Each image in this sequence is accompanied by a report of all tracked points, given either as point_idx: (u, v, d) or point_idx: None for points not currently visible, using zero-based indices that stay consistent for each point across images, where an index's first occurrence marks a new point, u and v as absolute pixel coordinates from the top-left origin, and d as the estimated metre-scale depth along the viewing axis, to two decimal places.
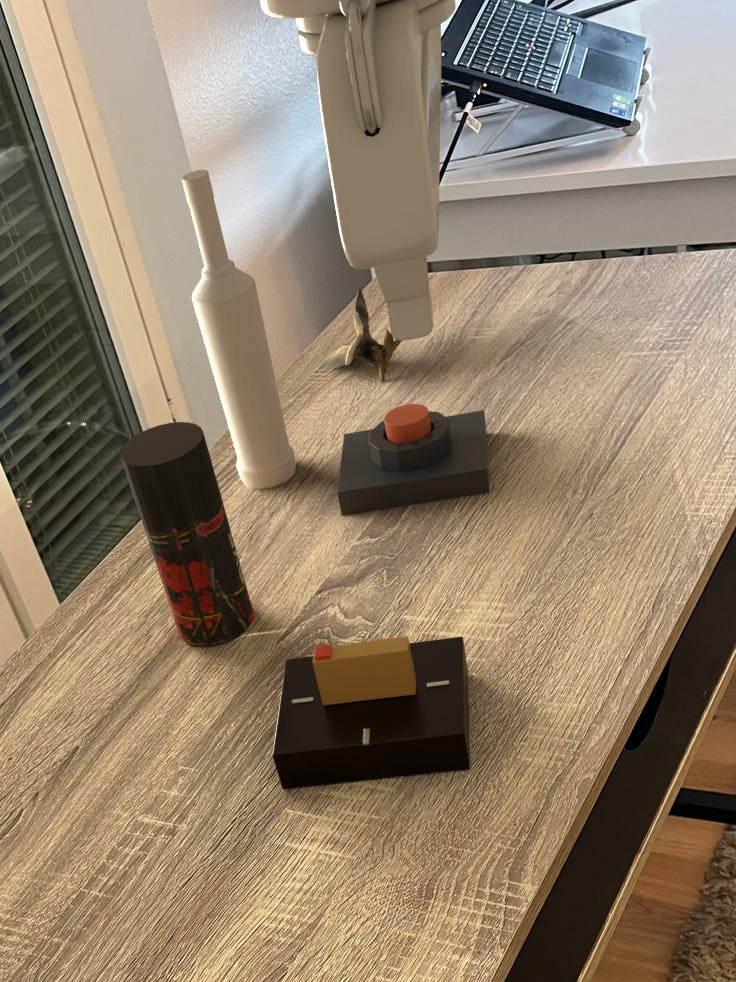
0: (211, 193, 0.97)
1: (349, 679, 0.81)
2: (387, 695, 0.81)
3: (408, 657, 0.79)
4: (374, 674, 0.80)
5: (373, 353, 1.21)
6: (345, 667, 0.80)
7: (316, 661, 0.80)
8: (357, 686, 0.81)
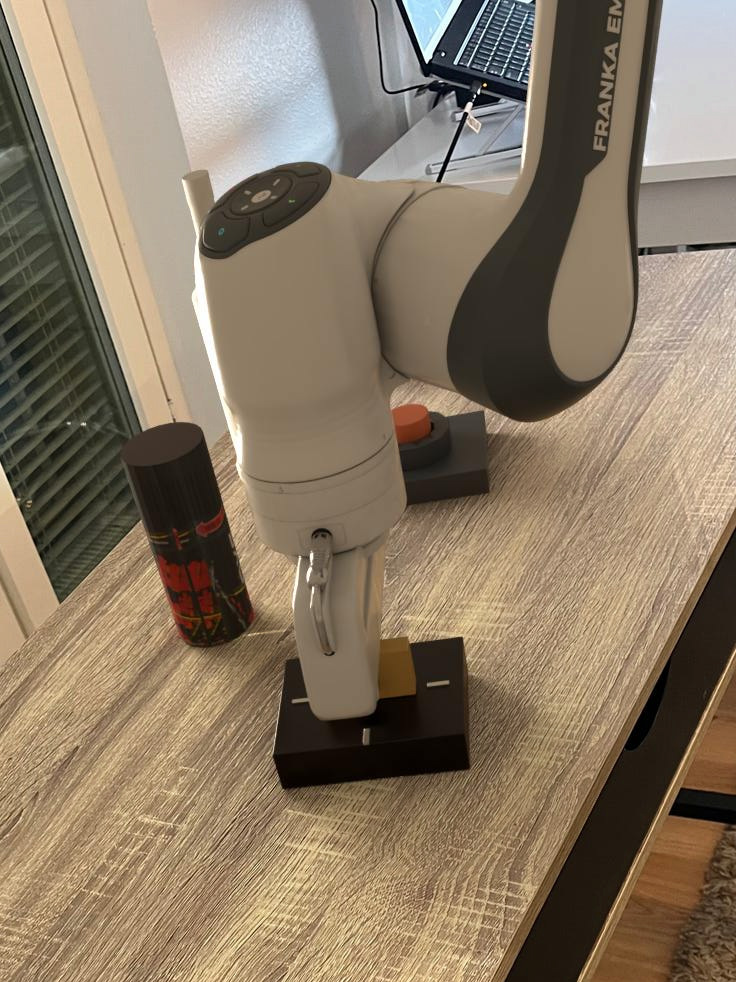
0: (211, 193, 0.97)
1: None
2: (387, 695, 0.81)
3: (408, 657, 0.79)
4: None
5: None
6: None
7: None
8: None
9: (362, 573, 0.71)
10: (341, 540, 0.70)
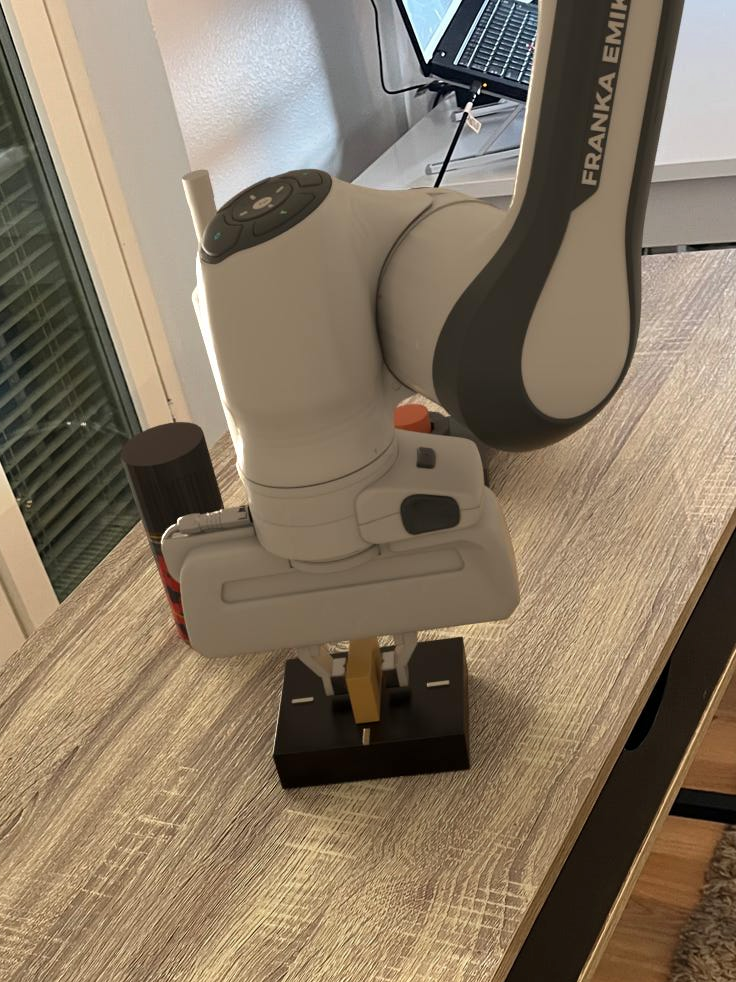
0: (211, 193, 0.97)
1: None
2: None
3: (348, 687, 0.79)
4: None
5: None
6: None
7: None
8: None
9: (256, 566, 0.75)
10: (255, 528, 0.74)
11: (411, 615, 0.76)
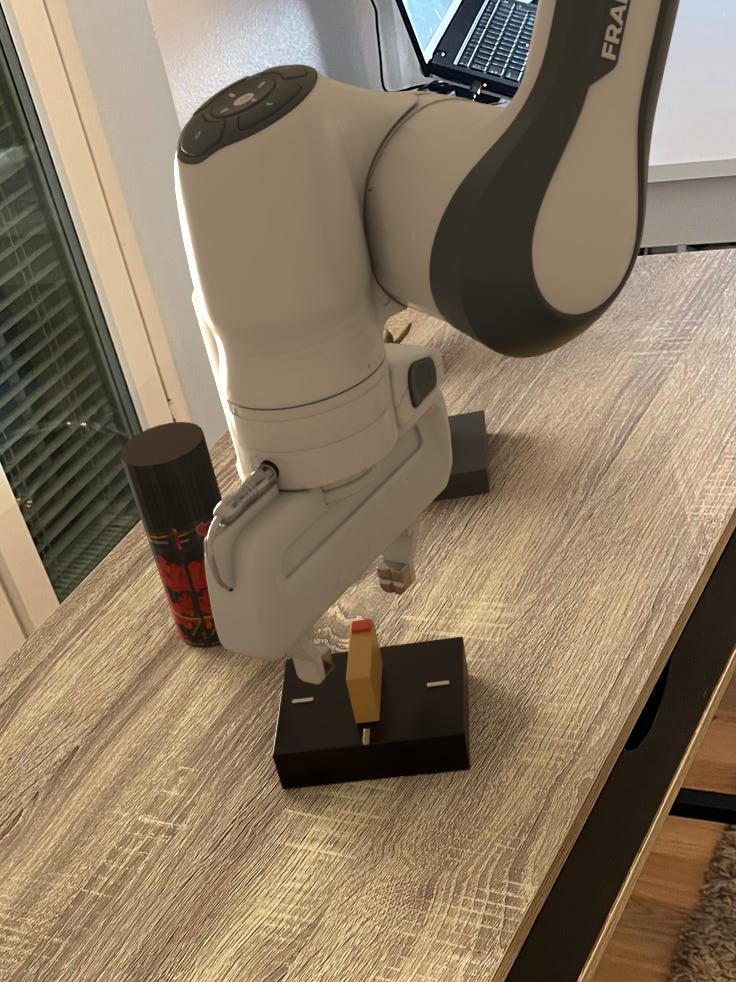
0: None
1: None
2: None
3: (348, 687, 0.79)
4: None
5: None
6: None
7: (351, 625, 0.82)
8: None
9: (304, 518, 0.68)
10: (287, 478, 0.67)
11: (400, 514, 0.75)
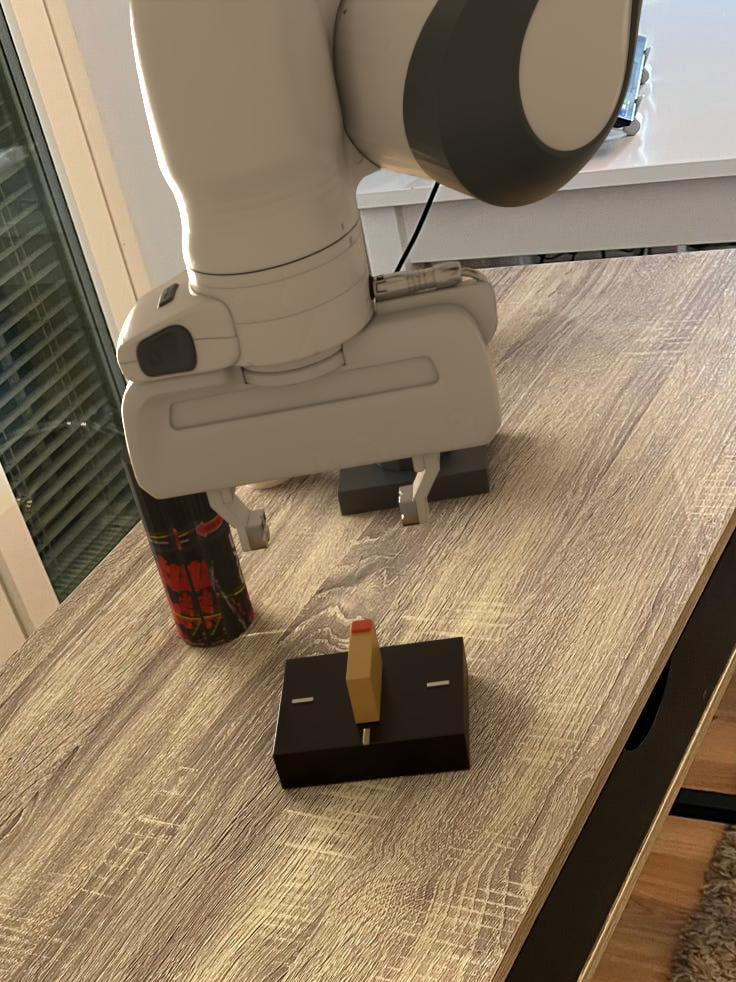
0: None
1: None
2: None
3: (348, 687, 0.79)
4: None
5: None
6: None
7: (351, 625, 0.82)
8: None
9: None
10: None
11: None
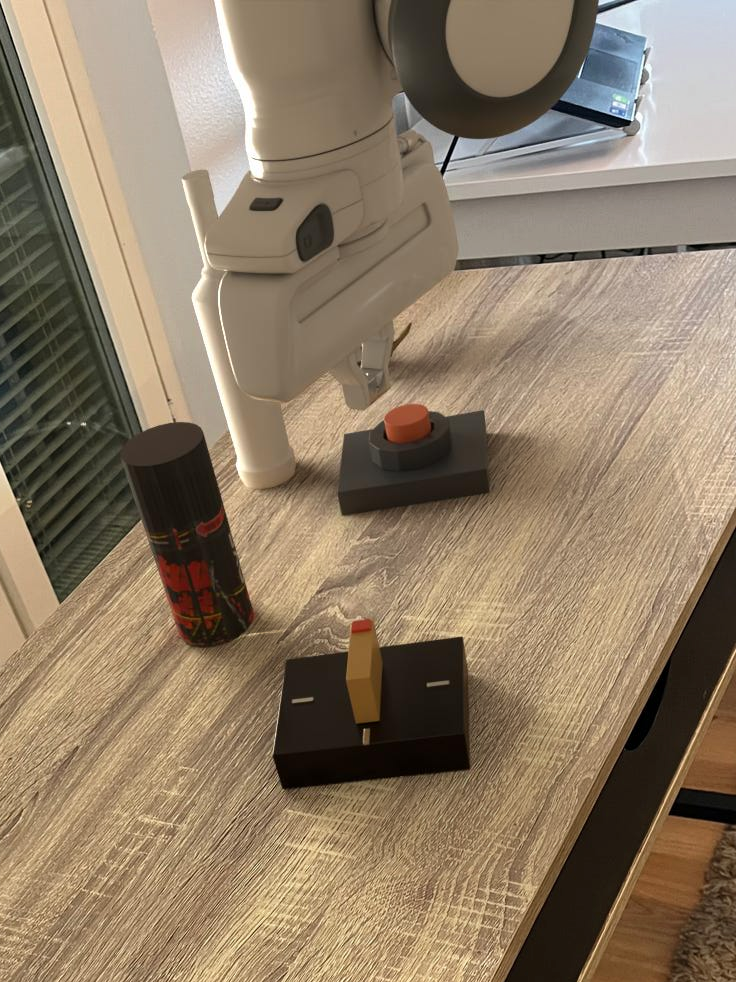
0: (211, 193, 0.97)
1: None
2: None
3: (348, 687, 0.79)
4: None
5: None
6: None
7: (351, 625, 0.82)
8: None
9: None
10: None
11: None
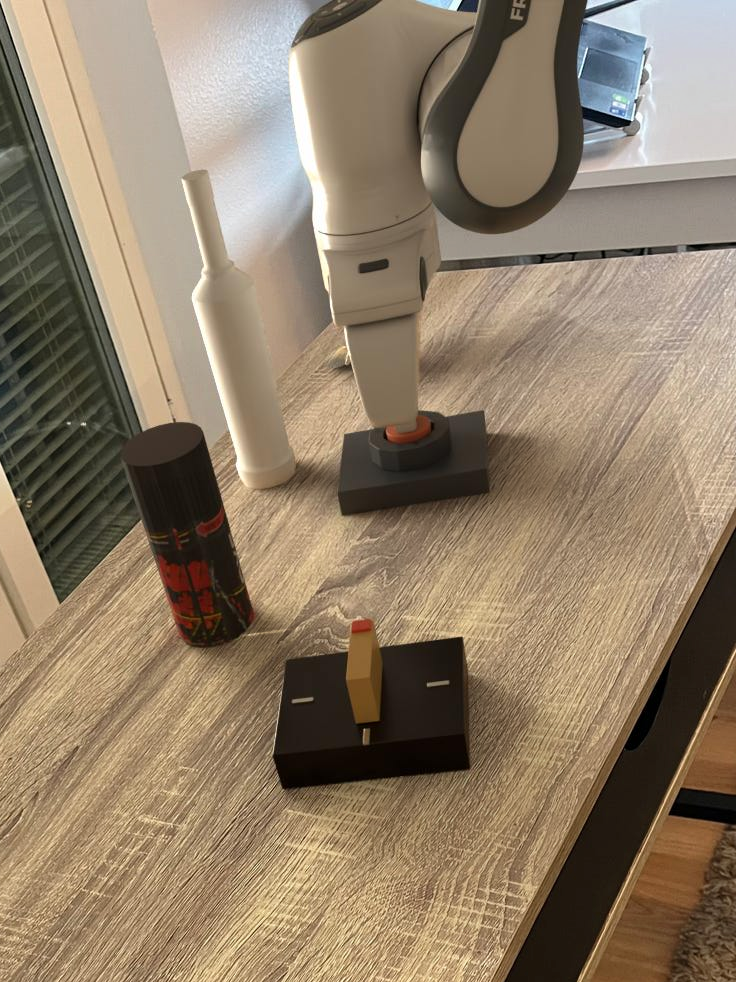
0: (211, 193, 0.97)
1: None
2: None
3: (348, 687, 0.79)
4: None
5: None
6: None
7: (351, 625, 0.82)
8: None
9: None
10: None
11: None
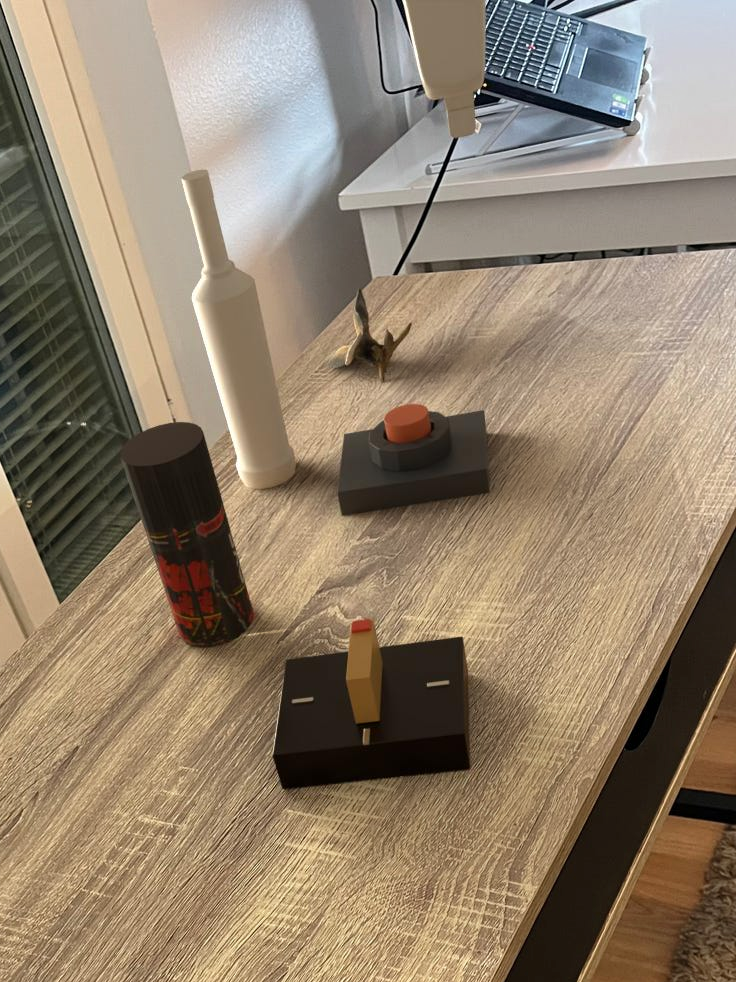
0: (211, 193, 0.97)
1: None
2: None
3: (348, 687, 0.79)
4: None
5: (373, 353, 1.21)
6: None
7: (351, 625, 0.82)
8: None
9: None
10: None
11: None
